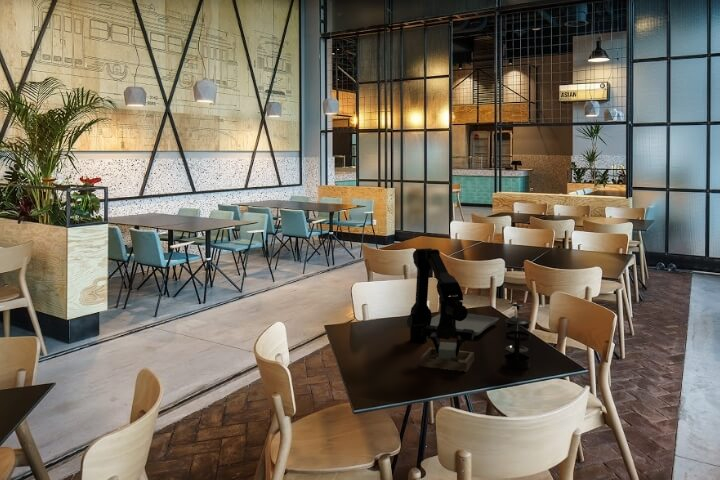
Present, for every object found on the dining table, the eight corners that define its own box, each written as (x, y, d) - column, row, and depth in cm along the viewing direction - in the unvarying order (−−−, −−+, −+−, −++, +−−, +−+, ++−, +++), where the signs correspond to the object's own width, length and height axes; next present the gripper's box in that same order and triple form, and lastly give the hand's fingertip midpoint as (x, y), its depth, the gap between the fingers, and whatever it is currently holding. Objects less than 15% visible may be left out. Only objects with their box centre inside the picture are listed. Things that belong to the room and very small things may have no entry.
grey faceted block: (438, 361, 215) (438, 349, 214) (440, 353, 224) (440, 342, 223) (455, 362, 214) (455, 350, 213) (456, 354, 223) (456, 342, 222)
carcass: (420, 366, 216) (420, 354, 216) (429, 355, 228) (430, 344, 228) (466, 372, 210) (466, 360, 209) (473, 360, 222) (474, 349, 221)
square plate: (499, 325, 271) (499, 316, 271) (479, 340, 248) (479, 331, 247) (444, 317, 285) (444, 309, 284) (420, 331, 262) (420, 323, 261)
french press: (529, 371, 210) (532, 308, 207) (502, 369, 212) (504, 307, 209) (529, 361, 221) (531, 300, 218) (503, 359, 223) (505, 299, 220)
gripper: (417, 317, 213) (416, 359, 215) (468, 322, 206) (467, 365, 208) (425, 309, 223) (425, 349, 225) (475, 314, 216) (474, 355, 218)
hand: (447, 355), depth 219 cm, fingers closed on grey faceted block, 6 cm apart
